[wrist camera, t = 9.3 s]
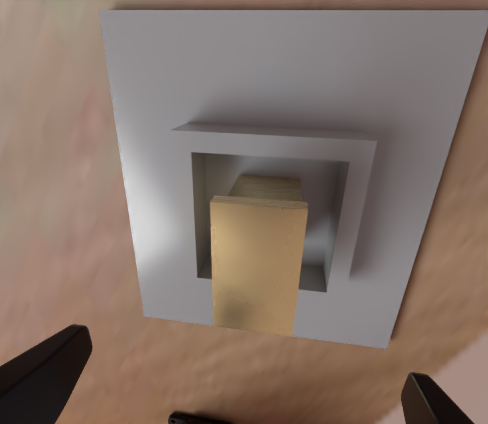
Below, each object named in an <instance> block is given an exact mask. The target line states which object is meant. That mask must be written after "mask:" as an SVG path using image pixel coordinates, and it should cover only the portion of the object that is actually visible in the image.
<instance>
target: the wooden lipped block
mask: <svg viewBox="0 0 488 424" xmlns="http://www.w3.org/2000/svg"><path fill="white" fill-rule="evenodd" d="M307 215H308V204H307V202H302V192H301V180H300V178H285V177H270V176H256V175H241V174H239V176H238V178H237V179H236V181H235V183H234V185H233V187H232V189H231V190H230V192H229V194H228V196H220V195H214V197H213V198H212V200H211V201H210V219H211V259H212V299H213V326H216V327H224V328H231V329H239V330H246V331H254V332H261V333H269V334H276V335H284V336H291V337H292V335H293V327H294V319H295V311H296V303H297V295H298V287H299V279H300V271H301V263H302V255H303V247H304V239H305V231H306V223H307Z"/></svg>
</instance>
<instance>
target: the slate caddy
mask: <svg viewBox="0 0 488 424" xmlns="http://www.w3.org/2000/svg"><path fill="white" fill-rule="evenodd" d="M99 16H100V23H101V29H102V36H103V43H104V49H105V56H106V63H107V70H108V76H109V83H110V90H111V96H112V103H113V110H114V117H115V123H116V130H117V137H118V144H119V150H120V157H121V164H122V170H123V177H124V184H125V191H126V197H127V204H128V211H129V217H130V224H131V231H132V238H133V244H134V251H135V258H136V265H137V271H138V278H139V285H140V291H141V298H142V305H143V312H144V317H152V318H159V319H167V320H174V321H182V322H189V323H196V324H204V325H211V326H213V299H212V259H211V219H210V201H211V200H212V198H213V197H214V195H220V196H228V194H229V192H230V190H231V189H232V187H233V185H234V183H235V181H236V179H237V178H238V176H239V174H241V175H256V176H270V177H285V178H300V180H301V192H302V202H307V204H308V215H307V223H306V231H305V239H304V247H303V255H302V263H301V271H300V279H299V287H298V295H297V303H296V311H295V319H294V327H293V335H292V336H293V337H301V338H308V339H316V340H323V341H331V342H338V343H346V344H353V345H361V346H368V347H375V348H383V349H387V347H388V343H389V340H390V337H391V334H392V331H393V328H394V324H395V321H396V318H397V315H398V312H399V308H400V305H401V302H402V299H403V296H404V292H405V289H406V286H407V283H408V280H409V277H410V273H411V270H412V267H413V264H414V261H415V257H416V254H417V251H418V248H419V245H420V241H421V238H422V235H423V232H424V229H425V226H426V222H427V219H428V216H429V213H430V210H431V206H432V203H433V200H434V197H435V194H436V191H437V187H438V184H439V181H440V178H441V175H442V171H443V168H444V165H445V162H446V159H447V155H448V152H449V149H450V146H451V143H452V140H453V136H454V133H455V130H456V127H457V124H458V120H459V117H460V114H461V111H462V108H463V104H464V101H465V98H466V95H467V92H468V89H469V85H470V82H471V79H472V76H473V73H474V69H475V66H476V63H477V60H478V57H479V53H480V50H481V47H482V44H483V41H484V38H485V34H486V31H487V28H488V10H99Z"/></svg>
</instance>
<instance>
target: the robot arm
mask: <svg viewBox="0 0 488 424" xmlns="http://www.w3.org/2000/svg"><path fill="white" fill-rule="evenodd" d="M91 352H92V341H91V337H90V334H89V330H88V328H87V327H86V326H84V325H77V324H73V325H70V326H68V327H67V328H65V329H63V330H62V331H60V332H58V333H56V334H55V335H53V336H51V337H50V338H48V339H46V340H44V341H43V342H41V343H39V344H38V345H36V346H34V347H33V348H31V349H29V350H27V351H26V352H24V353H22V354H21V355H19V356H17V357H15V358H14V359H12V360H10V361H9V362H7V363H5V364H3V365H2V366H0V424H55V422H56V421H57V419H58V417H59V416H60V414H61V412H62V410H63V409H64V407H65V405H66V403H67V401H68V399H69V397H70V395H71V393H72V391H73V389H74V387H75V385H76V383H77V381H78V379H79V377H80V375H81V373H82V371H83V369H84V367H85V365H86V363H87V361H88V359H89V357H90V355H91ZM401 401H402V407H403V412H404V417H405V422H406V424H474V423H473V422H472V421H471V420H470V419H469V418H468V416H467V415H466V414H464V412H463V411H462V410H461V409H460V408H459V407H458V406H457V405H456V404H455V403H454V402H453V401H452V400H451V399H450V397H448V396H447V394H446V393H445V392H444V391H443V390H442V389H441V388H440V387H439V386H438V385H437V384H436V383H435V382H434V381H433V380H432V378H430V377H429V376H428V375H426V374H421V373H414V372H411V373H409V375H408V377H407V379H406V382H405V385H404V387H403V390H402V393H401ZM168 424H228V423H222V422H217V421H211V420H205V419H199V418H194V417H188V416H182V415H176V414H171V415H170V416H169V419H168Z"/></svg>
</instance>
